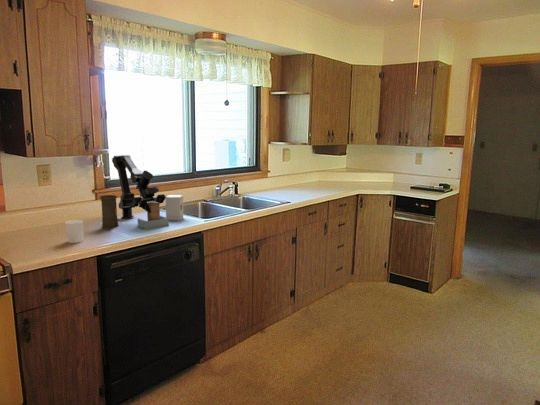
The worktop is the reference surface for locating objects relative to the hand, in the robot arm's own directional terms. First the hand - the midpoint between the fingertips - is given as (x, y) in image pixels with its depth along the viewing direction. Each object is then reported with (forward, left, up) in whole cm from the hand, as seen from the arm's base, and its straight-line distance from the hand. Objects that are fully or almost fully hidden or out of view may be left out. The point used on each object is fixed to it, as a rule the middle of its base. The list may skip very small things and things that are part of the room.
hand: (154, 212), depth 227 cm
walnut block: (-1, -1, -6) cm, 6 cm away
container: (-2, -25, -9) cm, 27 cm away
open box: (-1, -1, -9) cm, 9 cm away
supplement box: (-19, +9, -9) cm, 23 cm away
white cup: (+25, -35, -9) cm, 44 cm away
